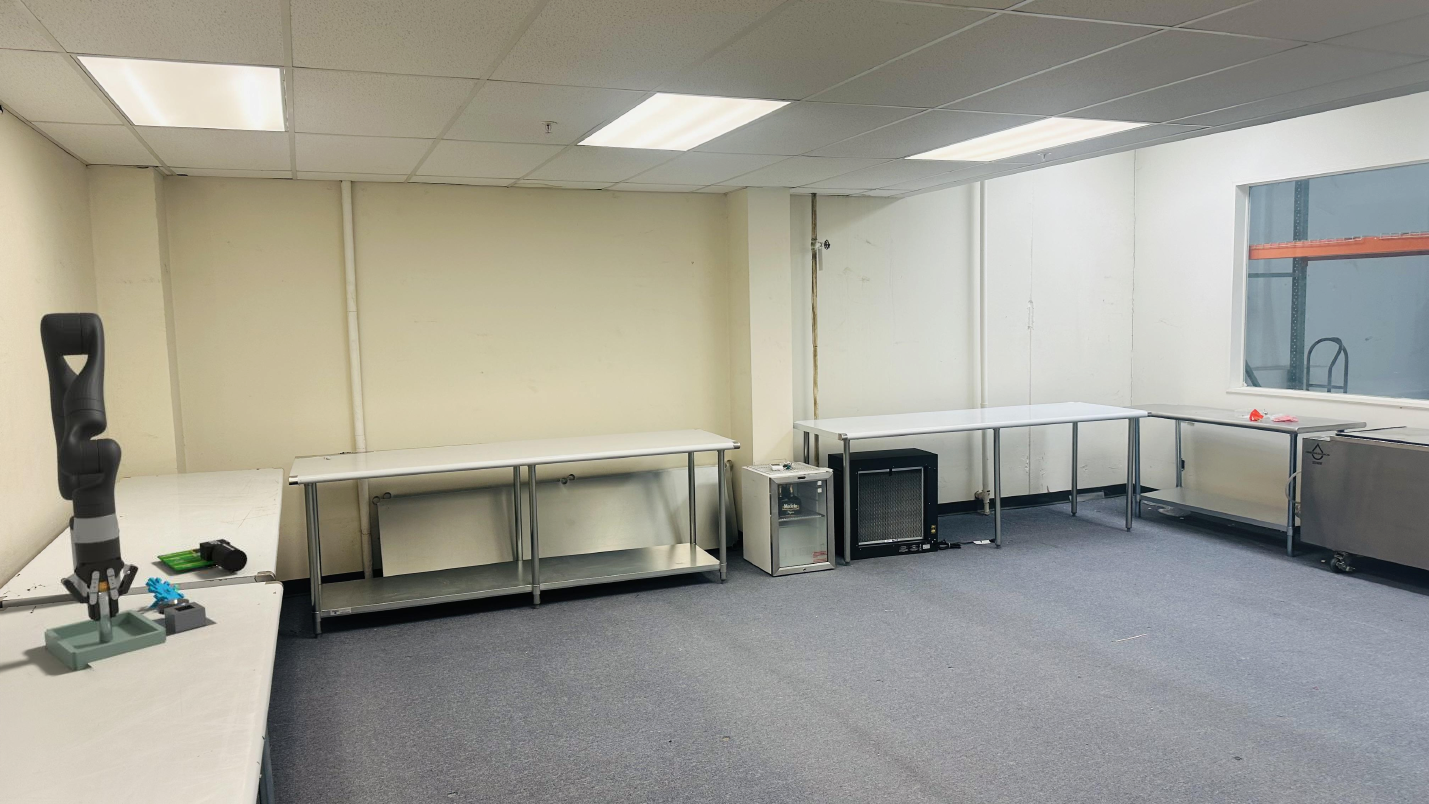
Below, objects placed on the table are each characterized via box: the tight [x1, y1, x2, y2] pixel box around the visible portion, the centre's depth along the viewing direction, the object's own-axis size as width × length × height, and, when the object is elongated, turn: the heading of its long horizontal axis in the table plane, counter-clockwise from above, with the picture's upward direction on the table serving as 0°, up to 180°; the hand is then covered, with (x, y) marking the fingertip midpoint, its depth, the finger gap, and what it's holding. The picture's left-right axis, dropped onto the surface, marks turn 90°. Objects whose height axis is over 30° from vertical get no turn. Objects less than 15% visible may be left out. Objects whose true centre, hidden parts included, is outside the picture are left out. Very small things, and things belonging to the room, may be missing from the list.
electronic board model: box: [156, 538, 248, 573], centre depth 240 cm, size 30×7×15 cm
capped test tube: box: [96, 581, 113, 642], centre depth 182 cm, size 2×2×12 cm
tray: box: [44, 609, 167, 671], centre depth 183 cm, size 20×16×4 cm
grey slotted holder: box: [153, 598, 218, 638], centre depth 194 cm, size 13×10×6 cm
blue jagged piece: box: [145, 576, 185, 609], centre depth 206 cm, size 11×6×10 cm
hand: (104, 618), depth 183 cm, fingers closed on capped test tube, 2 cm apart
